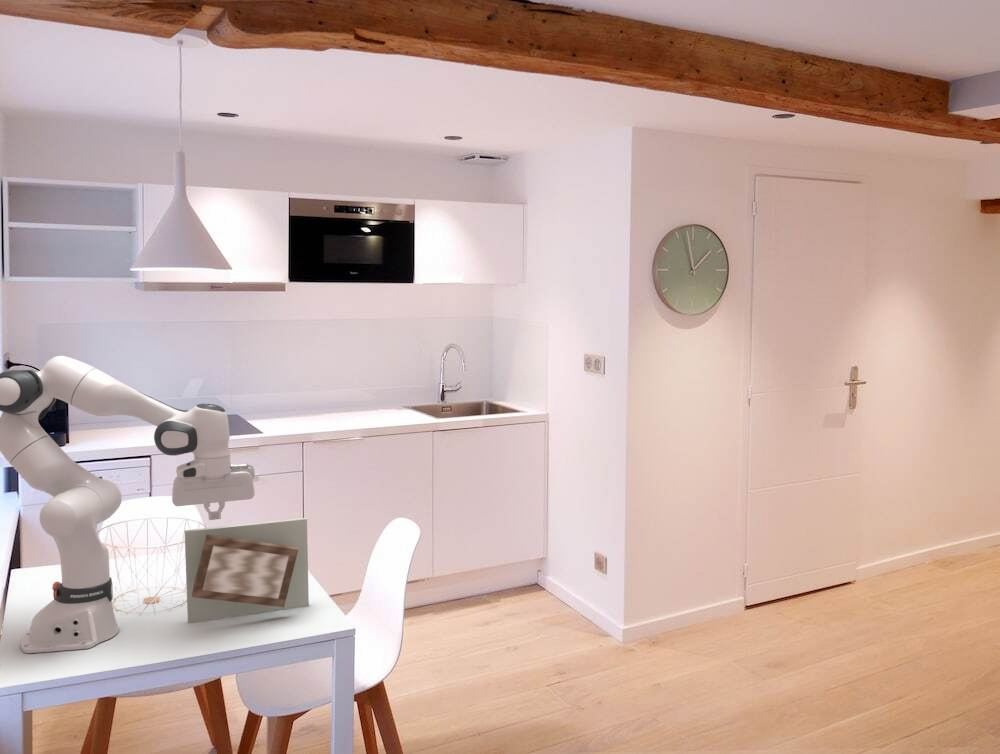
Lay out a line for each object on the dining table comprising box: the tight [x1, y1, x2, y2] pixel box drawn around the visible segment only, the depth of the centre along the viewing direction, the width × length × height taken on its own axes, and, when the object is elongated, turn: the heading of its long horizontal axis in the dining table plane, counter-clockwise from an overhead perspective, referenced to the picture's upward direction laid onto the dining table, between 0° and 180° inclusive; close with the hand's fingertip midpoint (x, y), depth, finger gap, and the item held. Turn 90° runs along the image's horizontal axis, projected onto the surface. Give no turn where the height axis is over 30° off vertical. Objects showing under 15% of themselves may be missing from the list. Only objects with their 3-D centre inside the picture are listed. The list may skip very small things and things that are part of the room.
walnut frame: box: [192, 535, 298, 607], centre depth 230 cm, size 24×2×16 cm, turn 115°
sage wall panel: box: [184, 517, 310, 624], centre depth 235 cm, size 32×6×25 cm, turn 114°
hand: (214, 519), depth 225 cm, fingers closed
